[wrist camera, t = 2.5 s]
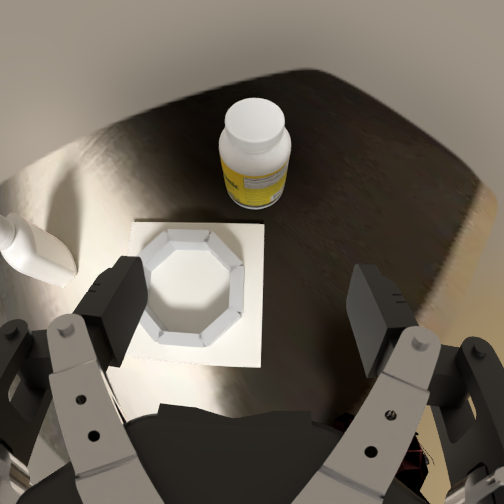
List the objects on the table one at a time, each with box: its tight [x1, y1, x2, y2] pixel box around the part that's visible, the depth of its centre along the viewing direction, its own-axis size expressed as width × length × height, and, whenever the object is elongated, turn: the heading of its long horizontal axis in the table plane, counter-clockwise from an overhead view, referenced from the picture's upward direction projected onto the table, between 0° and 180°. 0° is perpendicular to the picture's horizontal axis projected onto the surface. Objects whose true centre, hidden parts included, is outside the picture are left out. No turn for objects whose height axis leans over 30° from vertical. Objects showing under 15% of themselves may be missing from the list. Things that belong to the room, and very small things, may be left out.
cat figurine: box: [333, 413, 430, 504], centre depth 17 cm, size 7×7×12 cm
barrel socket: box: [125, 222, 264, 367], centre depth 25 cm, size 12×12×3 cm
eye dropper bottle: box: [0, 213, 77, 288], centre depth 21 cm, size 4×6×12 cm
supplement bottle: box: [219, 98, 291, 209], centre depth 24 cm, size 5×5×10 cm
